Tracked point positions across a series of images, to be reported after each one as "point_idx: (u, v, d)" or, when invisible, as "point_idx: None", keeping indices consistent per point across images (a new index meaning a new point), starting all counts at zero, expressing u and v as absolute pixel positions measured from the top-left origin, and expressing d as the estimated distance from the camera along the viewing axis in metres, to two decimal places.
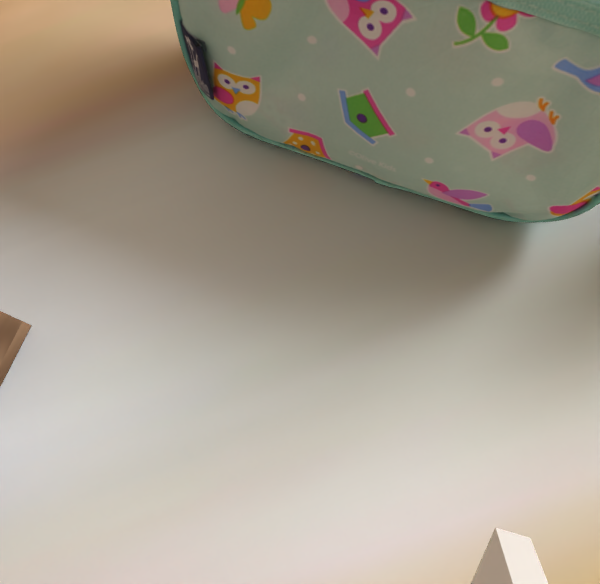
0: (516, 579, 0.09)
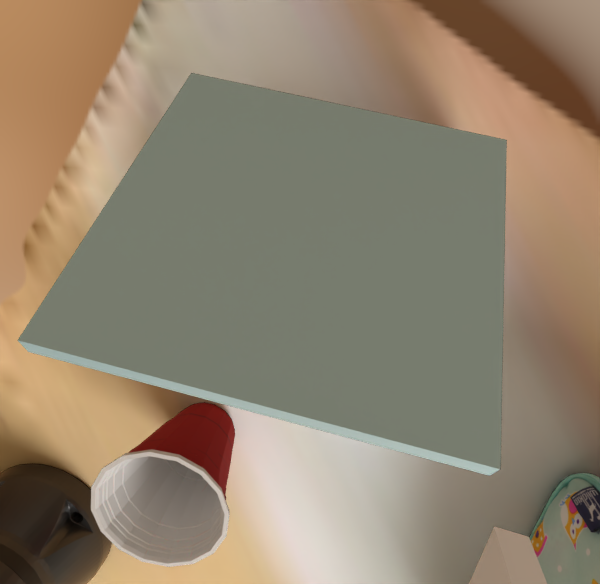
0: (514, 578, 0.09)
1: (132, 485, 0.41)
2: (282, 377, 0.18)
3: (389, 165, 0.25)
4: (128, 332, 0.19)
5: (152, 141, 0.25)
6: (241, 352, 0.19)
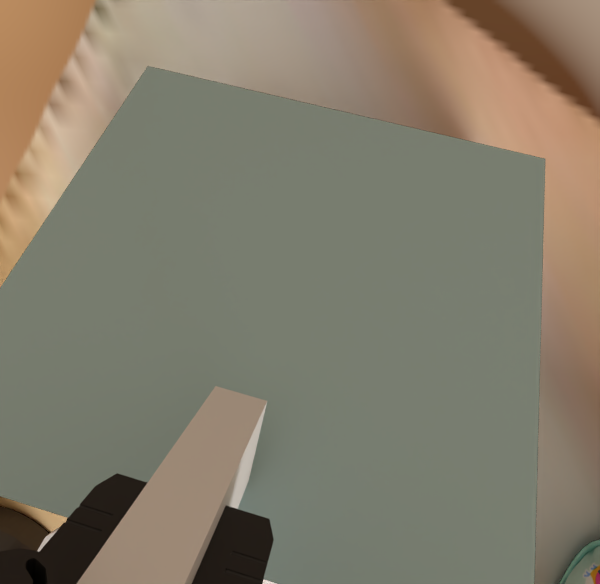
0: (229, 419, 0.12)
1: None
2: None
3: (394, 195, 0.20)
4: (36, 448, 0.14)
5: (90, 162, 0.20)
6: None
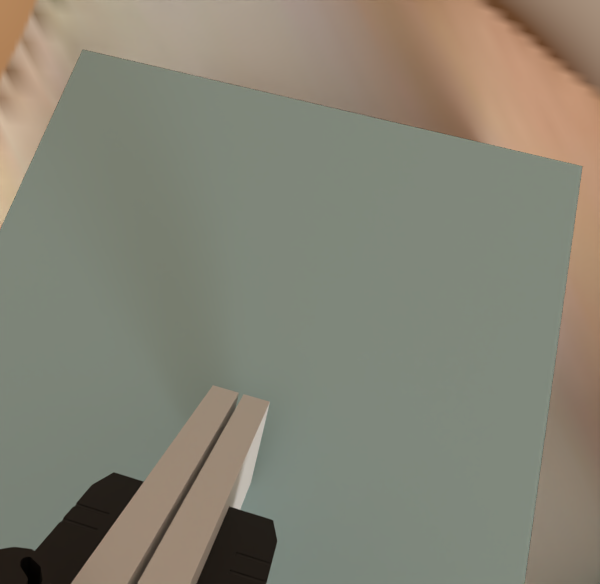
0: (233, 420, 0.12)
1: None
2: None
3: (384, 231, 0.16)
4: None
5: (21, 200, 0.17)
6: None
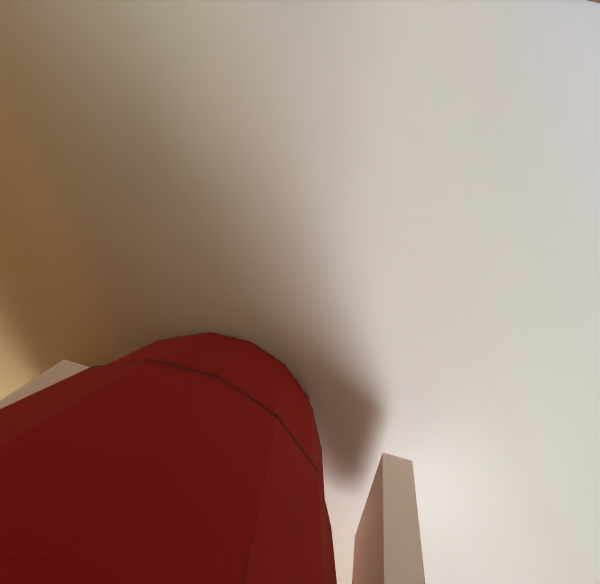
0: (387, 488, 0.11)
1: None
2: None
3: None
4: None
5: None
6: None
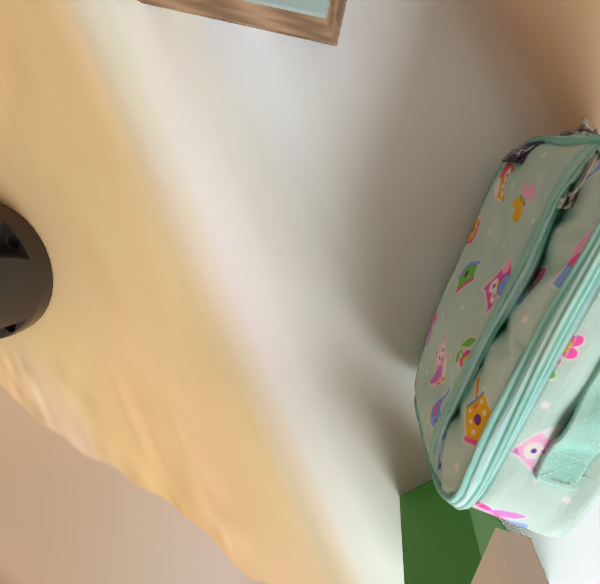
0: (516, 580, 0.09)
1: None
2: None
3: None
4: None
5: None
6: None
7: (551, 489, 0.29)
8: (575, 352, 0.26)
